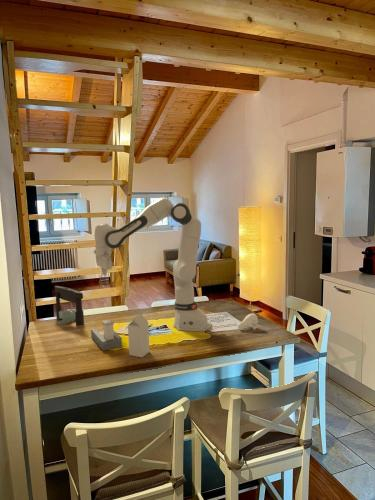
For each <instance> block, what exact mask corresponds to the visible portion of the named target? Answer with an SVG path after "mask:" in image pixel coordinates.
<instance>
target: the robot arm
mask: <svg viewBox="0 0 375 500" xmlns="http://www.w3.org/2000/svg"><path fill="white" fill-rule="evenodd" d="M167 217H170V218H172V220H173V221H174V222H176V223H179V224H180V225H181V226H182V229H181V234H180V240H179V243H178V244H179V245H178V253H177V254H178V257H177V259H176V260H175V261H174V263H173V265H172V273H173V274H172V275H173V282H174V283H173V284H174V296H175V297H174V298H175V300H174V312H175V315H174V321H173V327H174V328H176V330H177V331H184V332H185V331H186V332H187V331H189V332H190V331H191V332H205V331H208V330H209V329H210V328H211V327H212V322H210V321H209V320H208V317H207V315H206V313H204V311H202V310H201V309H199V307H198V306H199V302H196V301H195V288H194V283H193V279H194V278H195V277H196V275H197V262H198V260H197V259H198V250H199V245H200V240H201V235H202V222H201V220H200V219H198V218H197V217H193V216H192V213H191V209H190V207H189V206H188V205H187V204H186V203H183V202H178V203H175V204H174V203H172V202H171V200H170V199H168V198H166V197H162V198H160V199H158V200H155V201H154V202H152V203H150V204H149V205H147V206H146V207H145V208H143V209H142V210H141V211H140V212H139V213H138V214H137V216H136V217H134V219H132V220H131V221H130V222H127V223H126V224H124V225H123V226H121V227H120V228H117V227H113V226H111V225H110V224H108V223H103V224H98V225H96V226H95V228H94V241H95V246H94V247H95V249H94V252H93V253H94V254H95V263H96V265H97V267H100V269H101V273H102V275H103V276H107V275H108V270H112V268H113V263H112V257H111V256H110V255H112V249H118V248H120V247H121V246H122V245H123V244H125V243H126V241H127V240H128V239H127V238H129V237H130V236H131V235H133V234H135V233H136V232H138V231H140V230H142V229H144V228H145V229H146V228H149V227H151V226H154V225H156V224H158V223H159V222H160V221H162V220H164V219H166V218H167Z"/></svg>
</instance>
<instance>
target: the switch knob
mask: <svg viewBox="0 0 375 500" xmlns="http://www.w3.org/2000/svg"><path fill="white" fill-rule="evenodd" d="M101 323H102V326H103V327H102V328H103V329H104V339H105V340H106V341H107V340H112V339H114V331H115V330H114V329H115V328H114V325H115V320H113V319H111V318H110V319H107V320H106V319H105V320H102V321H101Z"/></svg>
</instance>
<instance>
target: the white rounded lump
mask: <svg viewBox="0 0 375 500" xmlns="http://www.w3.org/2000/svg"><path fill="white" fill-rule="evenodd" d="M258 325H259V319H258V316H257V314H255V313H251V312H250V313H249V314H247V315H246V316H245V317H244V319H243V320H242V321H241V322H239V323H238V324H237V328H238V329H239V331H245V328H252V329H253V330H254V331H255V330H256V329H257V326H258Z"/></svg>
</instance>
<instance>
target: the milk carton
mask: <svg viewBox="0 0 375 500" xmlns="http://www.w3.org/2000/svg"><path fill="white" fill-rule="evenodd" d="M149 331H150V330H149V321H148V320H147V319H146V318H145V317H144V316H143V313H140V314H138V315H136V316H135V317H133V318H132V319H131V322H130V323H129V324H128V325H127V334H128V355H129V356H133V357H138V358H143V357H144V356H146V355H148V354H149V353H150V332H149Z"/></svg>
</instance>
